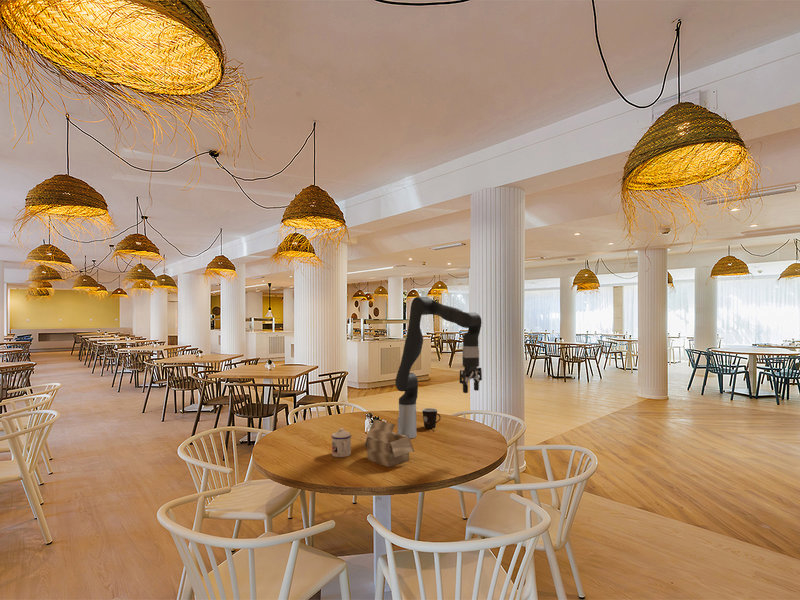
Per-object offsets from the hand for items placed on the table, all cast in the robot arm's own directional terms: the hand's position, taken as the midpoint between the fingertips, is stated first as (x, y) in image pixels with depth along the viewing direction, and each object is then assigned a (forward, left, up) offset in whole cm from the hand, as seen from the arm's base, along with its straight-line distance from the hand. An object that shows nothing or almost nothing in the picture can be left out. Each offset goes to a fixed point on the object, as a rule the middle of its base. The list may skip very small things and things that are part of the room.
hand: (470, 391), depth 191 cm
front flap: (-23, -38, -18) cm, 48 cm away
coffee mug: (-45, +23, -29) cm, 58 cm away
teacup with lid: (-43, -41, -29) cm, 66 cm away
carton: (-23, -29, -29) cm, 47 cm away
